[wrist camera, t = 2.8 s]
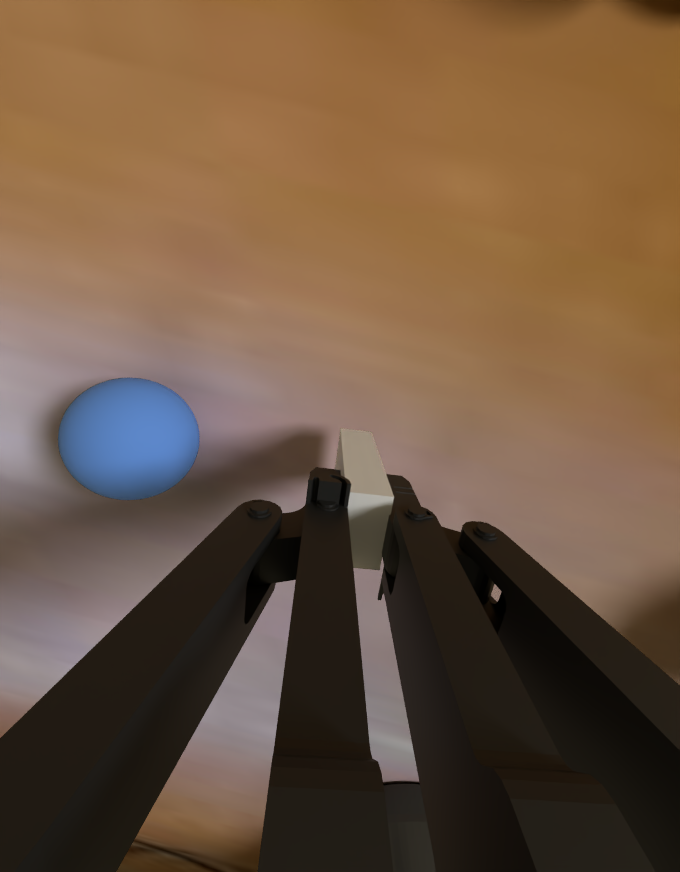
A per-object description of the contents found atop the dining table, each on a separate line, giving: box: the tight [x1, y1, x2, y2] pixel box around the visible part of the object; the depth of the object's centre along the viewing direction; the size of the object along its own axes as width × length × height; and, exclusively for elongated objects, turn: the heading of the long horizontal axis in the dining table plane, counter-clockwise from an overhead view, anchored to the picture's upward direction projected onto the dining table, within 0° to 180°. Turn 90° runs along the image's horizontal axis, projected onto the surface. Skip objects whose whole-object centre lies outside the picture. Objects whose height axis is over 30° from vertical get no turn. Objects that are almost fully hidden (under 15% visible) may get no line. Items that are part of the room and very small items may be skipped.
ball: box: [58, 378, 199, 500], centre depth 16 cm, size 6×6×6 cm
